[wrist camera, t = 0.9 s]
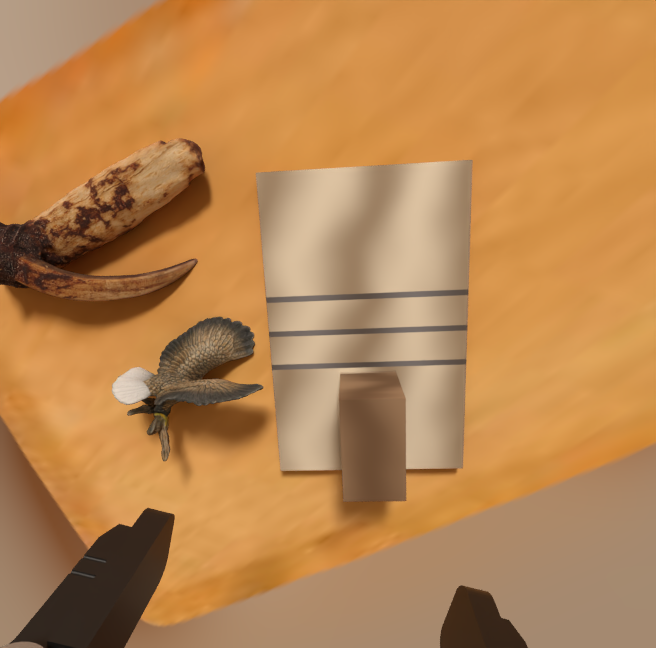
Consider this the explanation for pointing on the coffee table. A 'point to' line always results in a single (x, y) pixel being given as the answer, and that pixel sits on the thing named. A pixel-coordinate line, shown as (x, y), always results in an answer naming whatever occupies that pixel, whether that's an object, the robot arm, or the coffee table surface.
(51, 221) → the lashed bone hook
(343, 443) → the block
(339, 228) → the birch board
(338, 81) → the coffee table surface
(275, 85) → the coffee table surface
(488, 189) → the coffee table surface
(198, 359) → the eagle figurine
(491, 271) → the coffee table surface
